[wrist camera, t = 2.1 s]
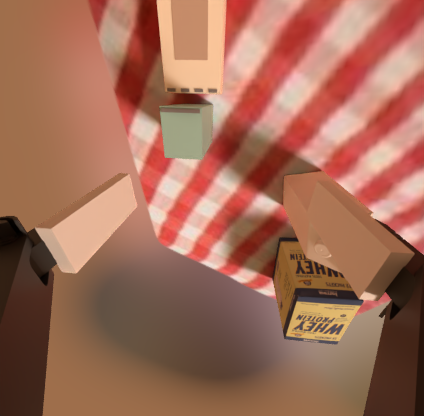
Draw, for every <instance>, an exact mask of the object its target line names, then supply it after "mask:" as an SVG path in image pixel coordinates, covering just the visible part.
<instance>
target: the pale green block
mask: <svg viewBox="0 0 424 416" xmlns="http://www.w3.org/2000/svg"><path fill="white" fill-rule="evenodd" d="M159 108H160V117H161V126H162V135H163V144H164V153H165V158H182V159H200V160H202V159H203V157H204V155H205V153H206V152H207V150H208V148H209V146H210V144H211V143H212V128H213V105H211V104H176V105H165V106H159Z"/></svg>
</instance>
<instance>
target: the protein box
mask: <svg viewBox="0 0 424 416" xmlns="http://www.w3.org/2000/svg"><path fill="white" fill-rule="evenodd" d="M273 283H274V288H275V293H276V298H277V303H278V308H279V312H280V317H281V323H282V328H283V333H284V338H285V339H289V340H298V341H308V342H317V343H327V344H337V343H338V342H339V340H340V338H341V336H342V335H343V334H344V332H345V330H346V328H347V327H348V325H349V323H350V322H351V320H352V318H353V317H354V315H355V314H356V312H357V311H358V309H359V308H360V306H361V305H362V303H363V302H364V301H363V299H359V298H358V297H357V295H356V294H355V292H354V290H353V289H352V287H351V286H350V284H349V282H348V281H347V280H346V279H345V277H344V276H343V274H342V273H340V272H338V271H335V270H333V269H331V268H328V267H326V266H324V265H322V264H319V263H317V262H315V261H313V260H310V259H308V258H306V256H305V254H304V252H303V250H302V247H301V245H300V243H299V241H298V238H279V244H278V250H277V256H276V261H275V267H274V272H273Z"/></svg>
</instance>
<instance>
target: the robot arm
mask: <svg viewBox="0 0 424 416" xmlns="http://www.w3.org/2000/svg"><path fill="white" fill-rule="evenodd" d="M136 207H137V203H136V199H135V195H134V190H133V186H132V182H131V179H130V174H123V173H119V174H118V175H116V176H115V177H113V178H111V179H110V180H108V181H107V182H105V183H104V184H102V185H101V186H99V187H97V188H96V189H95V190H93V191H91V192H90V193H88V194H86V195H85V196H83V197H82V198H80V199H79V200H77V201H75V202H74V203H72V204H71V205H69V206H68V207H66V208H65V209H63V210H61V211H60V212H58V213H57V214H55V215H54V216H52V217H50V218H49V219H47V220H46V221H44V222H43V223H41V224H39V225H38V226H36V227H35V228H34V229H32V230H31V231H29V232H26V230H25V229H24V227H23V226H22V224H21V223H20V221H19V220H18V218H17V217H15V216H6V217H0V416H42V414H43V402H44V390H45V378H46V366H47V354H48V342H49V330H50V317H51V305H52V293H53V280H54V273H53V271H52V269H51V268H52V267H53V266H55V265H56V264H58V266H59V268H60V269H61V271H62V272H67V273H77V272H78V271H79V270H80V269H81V268H82V267H83V266H84V264H85V263H86V262H87V261H88V260H89V259H90V258H91V257H92V256H93V254H94V253H95V252H96V251H97V250H98V249H99V248H100V247H101V246H102V245H103V243H104V242H105V241H106V240H107V239H108V238H109V237H110V236H111V235H112V233H114V231H115V230H116V229H117V228H118V227H119V226H120V225H121V224H122V223H123V221H124V220H125V219H126V218H127V217H128V216H129V215H130V214H131V213H132V212H133V211H134V209H135V208H136ZM307 217H308V219H309V220H310V222H311V223H312V225H313V227H314V228H315V230H316V231H317V233H318V235H319V236H320V238H321V239H322V241H323V243H324V244H325V246H326V247H327V249H328V251H329V252H330V254H331V255H332V257H333V259H334V260H335V262H336V263H337V265H338V267H339V268H340V270H341V271H342V273H343V275H344V276H345V278H346V279H347V281H348V282H349V284H350V286H351V287H352V289H353V290H354V292H355V294H356V295H357V297H358V298H359V299H363V300H374V301H378V300H379V299H380V298H381V297H382V295H383V294H384V293H385V292H386V293H387V294H388V295H389V297H390V298H391V299H392V301H391V302H390V303H389V304H388V305H387V306H386V308H385V309H384V310H383V311H382V312H381V314H380V315H379V317H381V318H382V317H383V316H384V315H385V319H384V324H383V328H382V333H381V337H380V342H379V346H378V351H377V356H376V360H375V365H374V369H373V374H372V378H371V383H370V388H369V392H368V397H367V401H366V406H365V410H364V415H363V416H424V255H423V254H422V253H420V252H419V251H418V250H417V249H416V248H414V247H413V246H412V245H411V244H409V243H408V242H407V241H406V240H403V238H402V237H401V236H400V235H398V234H396V232H395V231H394V230H392V229H391V228H390V227H389V226H387V225H386V224H384V223H382V222H380V221H378V220H376V219H374V218H372V217H371V216H370V215H369V214H368V213H367V212H365V211H364V210H363V209H362V208H361V207H359V206H358V205H357V204H356V203H355V202H354V201H352V200H351V199H350V198H349V197H348V196H347V195H345V194H344V193H343V192H342V191H341V190H339V189H338V188H337V187H336V186H335V185H334V184H332V183H331V182H330V181H317V183H316V187H315V190H314V193H313V196H312V199H311V202H310V206H309V209H308V212H307Z"/></svg>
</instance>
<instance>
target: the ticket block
mask: <svg viewBox="0 0 424 416" xmlns="http://www.w3.org/2000/svg"><path fill="white" fill-rule="evenodd" d="M157 10H158V20H159V31H160V42H161V52H162V63H163V74H164V85H165V92H168V93H187V94H222V89H223V66H224V44H225V22H226V0H157Z"/></svg>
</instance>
